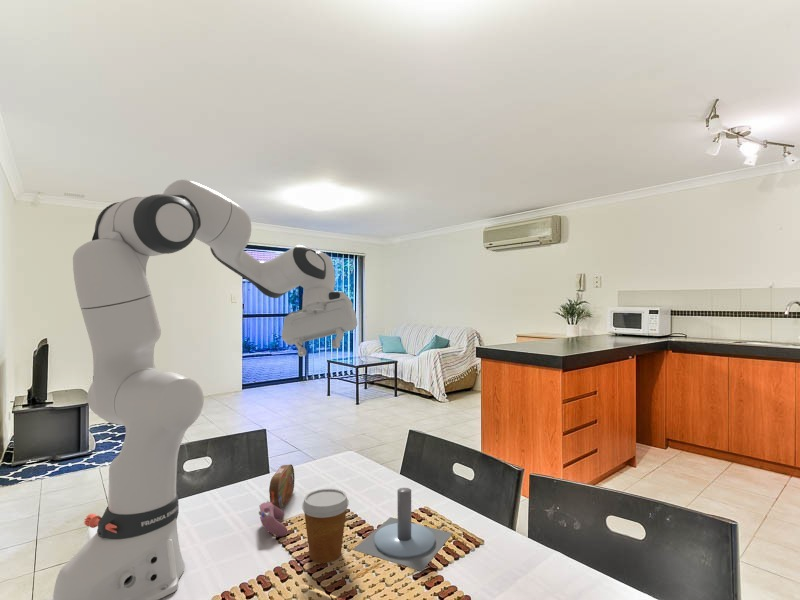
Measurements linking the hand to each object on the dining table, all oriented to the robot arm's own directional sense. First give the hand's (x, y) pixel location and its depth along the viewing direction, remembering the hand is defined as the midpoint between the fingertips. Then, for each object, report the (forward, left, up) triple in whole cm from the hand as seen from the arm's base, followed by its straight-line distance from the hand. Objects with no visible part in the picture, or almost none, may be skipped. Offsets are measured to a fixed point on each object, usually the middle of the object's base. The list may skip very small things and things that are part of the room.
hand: (318, 351), depth 109 cm
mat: (-3, -26, -40) cm, 48 cm away
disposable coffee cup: (-15, -14, -40) cm, 45 cm away
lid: (-3, -26, -40) cm, 47 cm away
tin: (0, +12, -40) cm, 42 cm away
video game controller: (-12, +4, -40) cm, 42 cm away
